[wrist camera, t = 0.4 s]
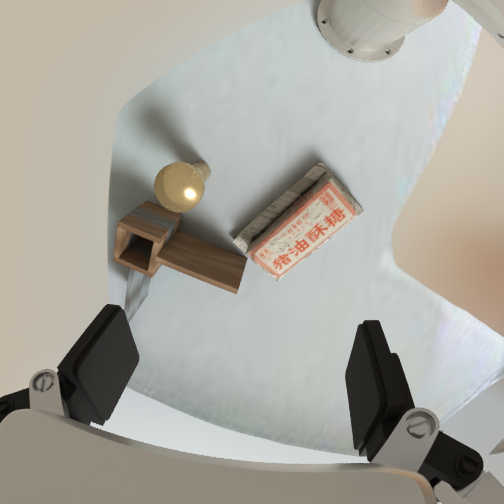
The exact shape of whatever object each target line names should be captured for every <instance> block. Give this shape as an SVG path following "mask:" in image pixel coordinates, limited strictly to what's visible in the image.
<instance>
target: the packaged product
mask: <svg viewBox="0 0 504 504" xmlns="http://www.w3.org/2000/svg"><path fill="white" fill-rule="evenodd" d="M363 211H364V210H363V209H362V208H361V207H360V205H359V204H358V203H357V201H356V200H355V199H354V198H353V197H352V195H351V194H350V193H349V192H348V191H347V190H346V188H345V187H344V186H343V185H342V184H341V183H340V182H339V181H338V180H337V179H336V178H335V177H334V175H333V174H332V173H331V172H330V171H329V170H328V168H327V167H326V166H325V165H324V164H323V163H321V162H319V163H318V164H316V165H315V166H314V167H312V168H311V169H310V170H309V171H308V172H307V173H306V174H305V175H304V176H303V177H302V178H301V179H300V180H298V181H297V182H296V183H295V184H293V185H292V186H291V187H290V188H288V189H287V190H286V191H285V192H284V193H283V194H282V195H281V196H279V197H278V198H277V199H276V200H275V201H274V202H272V203H271V204H270V205H269V206H268V207H267V208H266V209H265V210H264V211H262V212H261V213H260V214H259V215H258V216H257V217H256V218H255V219H254V220H253V221H252V222H251V223H250V224H249V225H248V226H246V227H245V228H244V229H243V230H242V231H241V232H240V233H239V235H238V236H237V237H236V238H235V239H234V241H233V243H234V244H235V245H236V246H237V247H239V248H240V249H241V250H242V251H243V252H244V253H245V254H247V255H248V256H249V257H250V258H251V259H252V260H253V261H254V263H255V264H257V265H259V266H260V267H262V268H263V269H264V270H265V271H266V272H267V273H268V274H269V275H270V276H272V277H273V278H274V279H275V280H276V281H278V280H279V279H280V278H282V277H283V276H284V275H286V274H287V273H288V272H290V271H291V270H292V269H293V268H294V267H295V266H297V265H298V264H299V263H301V262H302V261H303V260H304V259H306V258H307V257H308V256H310V255H311V254H312V253H313V252H315V251H316V250H317V249H318V248H320V247H321V246H322V245H323V244H324V243H325V242H326V241H327V240H329V239H330V238H332V237H333V236H334V235H335V234H337V233H338V232H339V231H340V230H341V229H342V228H343V227H345V226H346V225H347V224H349V223H350V222H351V221H352V220H353V219H355V218H356V217H357V216H358V215H360V214H361V213H362V212H363Z"/></svg>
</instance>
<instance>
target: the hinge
mask: <svg viewBox="0 0 504 504" xmlns="http://www.w3.org/2000/svg"><path fill="white" fill-rule="evenodd" d="M182 216H183V215H181V214H178V213H175V212H173V211H170V210H168V209H165V208H163V207H160V206H157V205H155V204H152V203H150V202H147V201H146V202H144V203H143V204H142V205H140V206H139V207H138V208H136V209H135V210H133V211H132V212H131V213H129V214H128V215H127V216H125V217H124V218H123V219H121V220H120V221H119V222H118V228H117V235H116V242H115V250H114V259H113V261H115V262H118V263H120V264H122V265H124V266H127V267H129V268H130V270H129V277H128V284H127V292H126V300H125V309H124V311H125V314H126V317H127V320H128V323H129V322H130V320H131V319H132V317H133V316H134V314H135V313H136V311H137V310H138V308H139V307H140V305H141V304H142V302H143V301H144V300H145V298H146V297H147V294H148V289H149V283H150V278H152V277H153V276H154V274H155V273H156V272H157V270H158V269H159V268H160V266H161V265H162V264H163V265H165V266H167V267H170V268H172V269H175V270H177V271H179V272H182V273H184V274H187V275H189V276H192V277H194V278H197V279H199V280H202V281H204V282H207V283H209V284H212V285H214V286H217V287H219V288H222V289H225V290H227V291H230V292H232V293H235V294H237V292H238V289H239V286H240V282H241V279H242V275H243V272H244V268H245V265H246V261H247V258H245V257H243V256H240V255H238V254H235V253H233V252H230V251H228V250H225V249H223V248H220V247H217V246H215V245H212V244H210V243H207V242H205V241H202V240H200V239H197V238H195V237H192V236H190V235H187V234H185V233H182V232H180V231H178V230H179V226H180V223H181V219H182Z"/></svg>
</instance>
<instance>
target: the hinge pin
mask: <svg viewBox="0 0 504 504" xmlns="http://www.w3.org/2000/svg"><path fill="white" fill-rule="evenodd" d="M209 176H210V168H209V166H208V165H207V164H206V163H204V162H197V163H195V164H193V165H191V164H189V163H186V162H174V163H171V164H169V165H167V166H165V167H164V168H162V169H161V170H160V171H159V173H158V174H157V176H156V179H155V183H154V190H155V194H156V197H157V199H158V201H159V202H160V203H161V204H162V205H163V206H164V207H165V208H166V209H168V210H170V211H173V212H178V213H181V212H187V211H189V210H191V209H192V208H194V207H195V206H196V205H197V204H198V203H199V201H200V200H201V198H202V197H203V194H204V181H206V180H207V179H208V178H209Z"/></svg>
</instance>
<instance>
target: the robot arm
mask: <svg viewBox="0 0 504 504" xmlns="http://www.w3.org/2000/svg"><path fill="white" fill-rule="evenodd" d="M452 1H453V2H454V3H456V4H457V5H459V6H460V7H461V8H463V9H464V10H465V11H466V12H467V13H468V14H469V15H471V16H472V17H473V18H474V19H475V20H476V21H477V22H478V23H479V24H480V25H481V26H482V27H483V28H484V29H485V30H486V31H487V32H488V33H489V34H490V35H491V36H492V37H493V38H494V39H495V40H496V41H497V42H498V43H499V44H500V45H501V46H502V47H503V48H504V0H452ZM447 3H448V0H321V2H320V4H319V7H318V11H317V22H318V26H319V29H320V31H321V33H322V35H323V36H324V38H325V39H326V40H327V42H328V43H329V44H330V45H331V46H332V47H333V48H334V49H336V50H337V51H339V52H340V53H341V54H343V55H345V56H347V57H349V58H352V59H355V60H358V61H363V62H377V61H382V60H385V59H387V58H390V57H392V56H393V55H394V54H395V53H397V52H398V51H399V49H400V48H401V46H402V44H403V42H404V39H405V35H406V34H408V33H410V32H411V31H413V30H415V29H417V28H418V27H420V26H422V25H424V24H425V23H427V22H429V21H431V20H432V19H434V18H436V17H437V16H439V15H440V14H441V13H442V12H443V11H444V9H445V8H446V6H447ZM322 22H325V24H323V23H322ZM348 51H351V53H348ZM385 51H387V52H388V54H387V53H386V52H385ZM138 362H139V353H138V351H137V348H136V345H135V342H134V339H133V336H132V333H131V330H130V327H129V324H128V320H127V317H126V314H125V311H124V310H123V309H122V308H121V307H120V306H119V305H112V304H107V305H105V307H104V308H103V309H102V310H101V312H100V313H99V314H98V315H97V316H96V318H95V319H94V320H93V321H92V323H91V324H90V325H89V326H88V328H87V329H86V330H85V331H84V333H83V334H82V335H81V337H80V338H79V339H78V340H77V342H76V343H75V344H74V346H73V347H72V348H71V349H70V351H69V352H68V353H67V355H66V356H65V357H64V359H63V360H62V361H61V363H60V364H59V366H58V367H57V368H58V370H59V371H58V372H57V373H56V372H55V371H53V370H51V369H44V370H41V371H38V372H37V373H36V374H34V376H33V377H32V378H31V380H30V384H29V388H27V389H23V390H21V391H18V392H15V393H12V394H9V395H5V396H3V397H1V398H0V504H437V502H441V503H442V504H504V487H503V486H502V484H501V483H500V482H499V481H498V480H497V479H496V478H495V477H494V476H493V475H492V474H491V473H490V472H489V471H488V472H485V471H484V470H483V460H482V457H481V456H480V454H479V453H478V452H476V451H475V450H473V449H471V448H470V447H468V446H466V445H464V444H462V443H460V442H458V441H457V440H455V439H453V438H451V437H450V436H448V435H446V434H444V433H443V432H441V431H439V428H440V425H439V420H438V418H437V416H436V415H435V414H434V413H433V412H431V411H430V410H428V409H425V408H415V406H414V402H413V399H412V396H411V393H410V389H409V386H408V383H407V380H406V377H405V374H404V371H403V368H402V365H401V362H400V359H399V357H398V355H397V354H396V353H391V352H390V349H389V347H388V344H387V341H386V338H385V335H384V332H383V330H382V327H381V324H380V322H379V320H365V321H364V322H363V324H359V325H358V328H357V332H356V336H355V340H354V344H353V348H352V351H351V355H350V359H349V362H348V366H347V369H346V374H345V380H346V387H347V394H348V401H349V409H350V417H351V425H352V434H353V443H354V449H355V450H358V449H359V456H367V460H368V461H369V462H370V463H350V464H349V463H346V464H344V463H343V464H283V463H282V464H281V463H263V462H251V461H240V460H232V459H224V458H216V457H209V456H203V455H197V454H192V453H186V452H181V451H177V450H172V449H167V448H163V447H158V446H154V445H151V444H147V443H143V442H139V441H136V440H132V439H129V438H125V437H122V436H118V435H115V434H112V433H109V432H106V431H103V430H101V429H98V428H94V427H92V426H90V423H91V421H92V422H93V423H96V424H99V425H102V426H103V424H104V423H105V420H108V419H109V418H110V416H111V414H112V412H113V411H114V408H115V406H116V405H117V403H118V401H119V399H120V397H121V395H122V393H123V391H124V389H125V387H126V385H127V383H128V381H129V379H130V378H131V376H132V374H133V372H134V370H135V368H136V366H137V364H138Z"/></svg>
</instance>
